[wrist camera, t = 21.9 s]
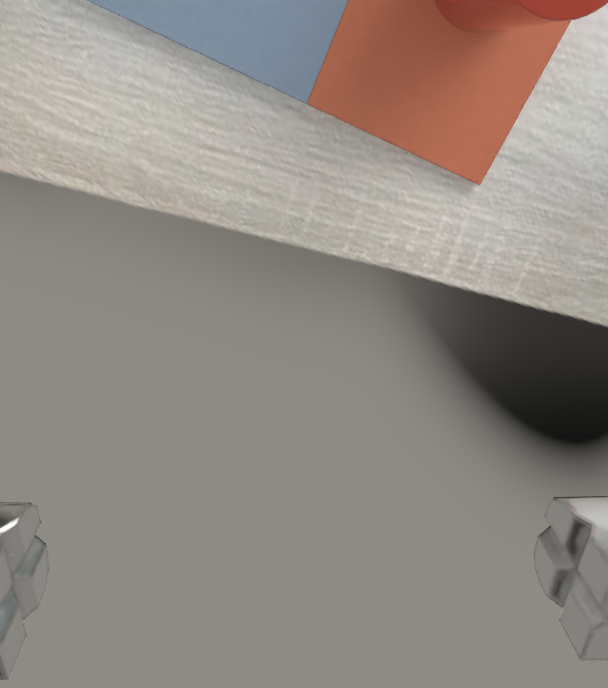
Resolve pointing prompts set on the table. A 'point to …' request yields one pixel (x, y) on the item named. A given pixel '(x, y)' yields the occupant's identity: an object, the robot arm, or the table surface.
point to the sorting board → (372, 65)
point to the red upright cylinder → (513, 12)
